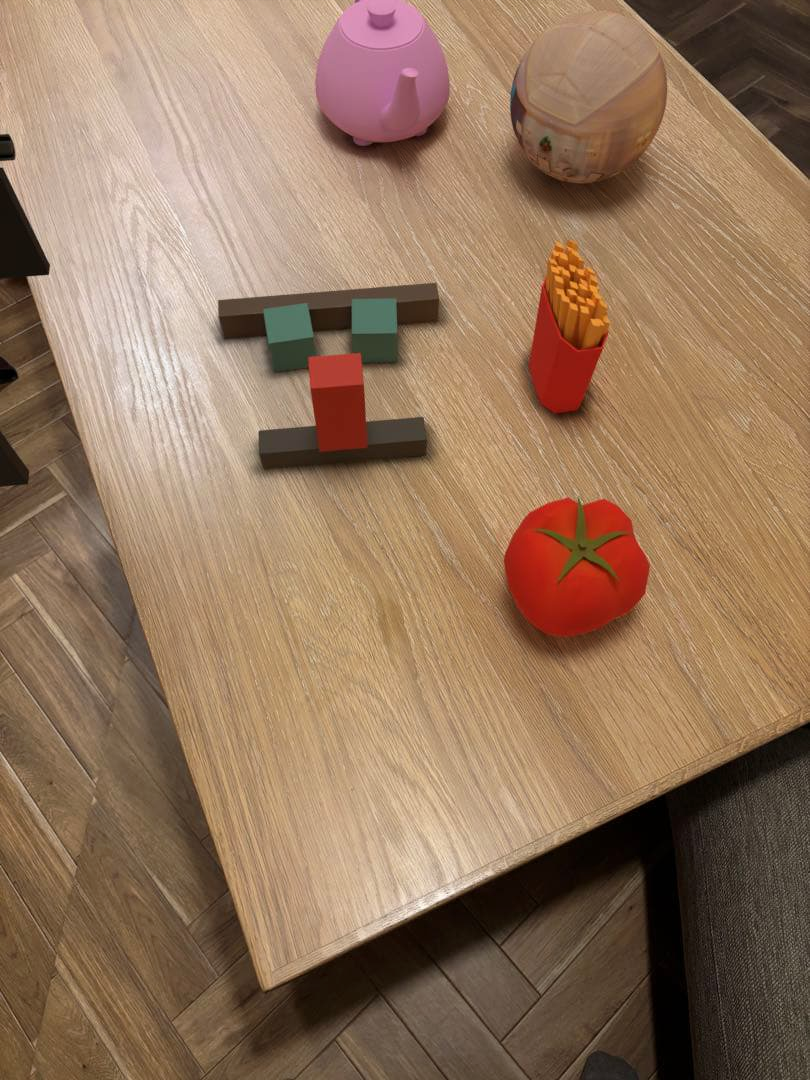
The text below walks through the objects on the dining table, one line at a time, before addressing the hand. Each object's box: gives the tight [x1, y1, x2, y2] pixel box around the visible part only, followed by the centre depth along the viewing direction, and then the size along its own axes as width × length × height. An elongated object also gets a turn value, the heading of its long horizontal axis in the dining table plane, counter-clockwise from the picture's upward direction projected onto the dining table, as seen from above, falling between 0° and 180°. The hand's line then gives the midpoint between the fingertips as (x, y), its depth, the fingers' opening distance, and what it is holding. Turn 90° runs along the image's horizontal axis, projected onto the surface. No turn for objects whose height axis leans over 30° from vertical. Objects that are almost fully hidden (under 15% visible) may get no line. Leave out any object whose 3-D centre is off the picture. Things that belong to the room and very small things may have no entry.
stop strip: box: [217, 282, 440, 340], centre depth 80 cm, size 2×20×3 cm, turn 97°
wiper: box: [257, 352, 428, 470], centre depth 70 cm, size 3×14×11 cm, turn 96°
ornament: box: [509, 10, 668, 184], centre depth 84 cm, size 15×15×15 cm
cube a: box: [263, 303, 317, 373], centre depth 78 cm, size 4×4×4 cm
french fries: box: [528, 238, 611, 414], centre depth 72 cm, size 9×4×13 cm, turn 11°
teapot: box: [314, 0, 451, 147], centre depth 89 cm, size 20×14×12 cm
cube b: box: [351, 298, 398, 364], centre depth 78 cm, size 4×4×4 cm
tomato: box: [503, 496, 651, 638], centre depth 65 cm, size 11×11×9 cm
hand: (13, 369), depth 45 cm, fingers open, 13 cm apart
